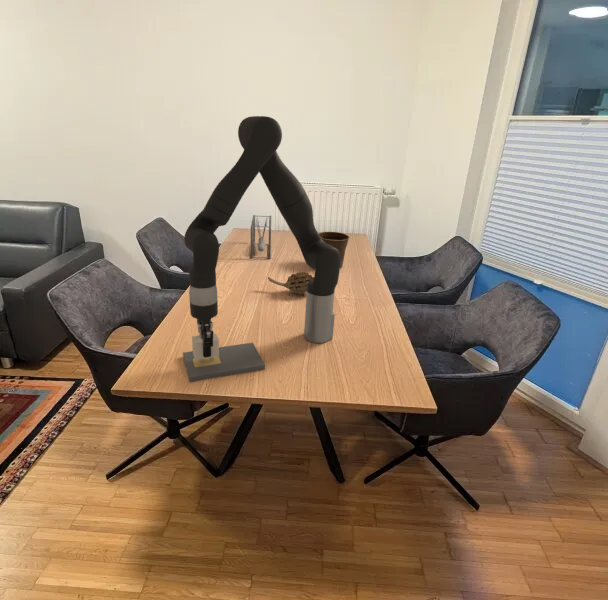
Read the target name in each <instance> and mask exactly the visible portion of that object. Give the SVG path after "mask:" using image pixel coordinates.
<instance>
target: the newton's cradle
mask: <svg viewBox="0 0 608 600" xmlns="http://www.w3.org/2000/svg"><path fill="white" fill-rule="evenodd" d="M260 217H261V218H262V217H263V218H264V217H265V220H264V225H263V223H260V221H259V218H260ZM268 219H269V220H268ZM262 225H263V226H262ZM261 228H263V232H262V234H261ZM266 228H268V243H265V242H266V239H265V236H264V235H265V232H266ZM256 229H257V234H258V241H257V250H258V252H261V253H262V252H264V251H265V246H268V255H267V256H254V253H255V252H254V251H255V247H256V246H255V245H256ZM271 245H272V215H255V214H253V215H252V220H251V225H250V259H255V258H260V259H269V260H270V259H271V256H272V253H271V251H272V250H271V248H272V246H271Z"/></svg>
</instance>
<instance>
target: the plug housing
mask: <svg viewBox="0 0 608 600" xmlns="http://www.w3.org/2000/svg"><path fill="white" fill-rule="evenodd" d="M191 343H192V345H191V346H192V347H191V348H192V351H193V355H194V359H195V360H197V359H204V358H211V357H218V356H219V347H220V340H219V338H218V335H217V333H214V334H213V347H211V356H210V357H204V356H203V345H202V339H201V338H200V336H199V335H194V336H191Z"/></svg>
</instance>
